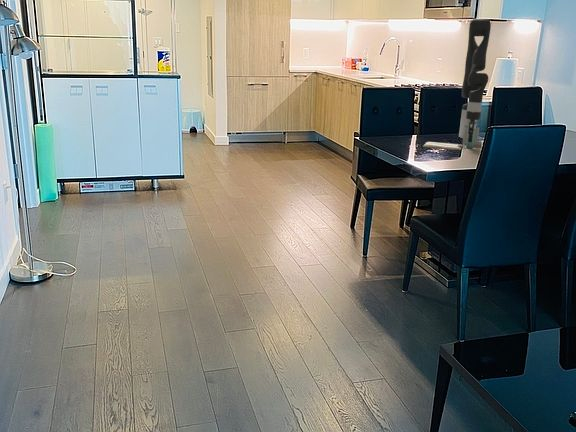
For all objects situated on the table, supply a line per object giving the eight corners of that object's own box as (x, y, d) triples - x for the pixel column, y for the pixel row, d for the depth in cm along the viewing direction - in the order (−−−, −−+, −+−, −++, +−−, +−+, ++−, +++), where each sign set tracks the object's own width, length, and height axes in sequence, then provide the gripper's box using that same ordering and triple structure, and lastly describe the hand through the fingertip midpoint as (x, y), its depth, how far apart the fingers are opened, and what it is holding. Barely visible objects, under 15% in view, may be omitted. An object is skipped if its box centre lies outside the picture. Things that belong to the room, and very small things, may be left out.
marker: (466, 147, 316) (469, 125, 313) (473, 147, 315) (475, 125, 311) (465, 148, 313) (468, 126, 310) (472, 148, 312) (475, 126, 308)
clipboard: (426, 143, 326) (427, 140, 326) (462, 146, 319) (463, 143, 319) (423, 147, 314) (423, 143, 313) (460, 150, 307) (460, 147, 306)
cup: (461, 144, 326) (463, 127, 323) (463, 142, 333) (465, 125, 330) (476, 145, 322) (478, 128, 320) (478, 143, 329) (480, 126, 327)
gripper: (468, 108, 316) (464, 138, 321) (465, 111, 303) (462, 142, 308) (482, 109, 313) (478, 139, 318) (480, 112, 300) (476, 143, 305)
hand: (470, 141), depth 313 cm, fingers open, 5 cm apart
